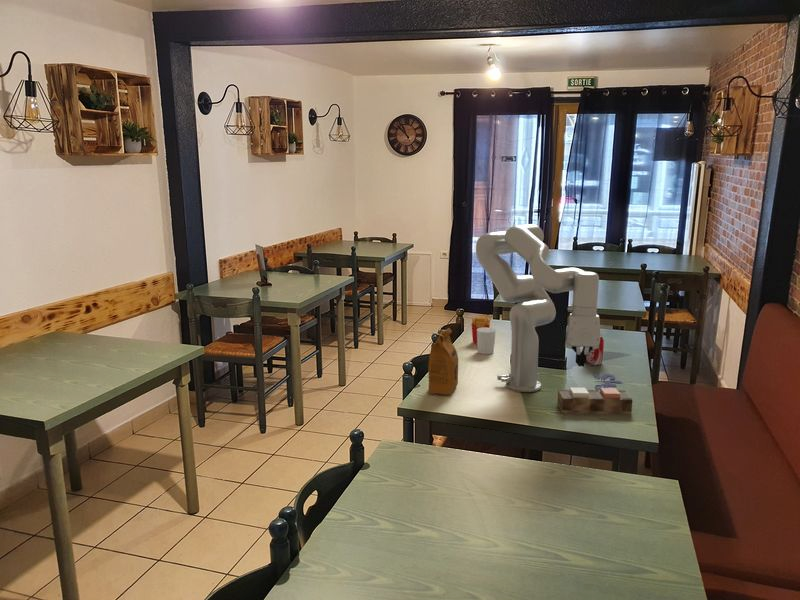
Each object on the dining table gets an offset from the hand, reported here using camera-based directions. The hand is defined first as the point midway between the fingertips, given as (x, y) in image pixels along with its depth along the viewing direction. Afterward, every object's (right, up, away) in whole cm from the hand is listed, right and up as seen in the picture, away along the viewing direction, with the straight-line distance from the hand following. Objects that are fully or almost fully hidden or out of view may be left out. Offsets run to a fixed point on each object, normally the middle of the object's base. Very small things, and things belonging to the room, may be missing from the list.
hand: (580, 365), depth 197 cm
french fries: (-22, +2, +77) cm, 81 cm away
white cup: (-22, -1, +64) cm, 67 cm away
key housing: (+5, -15, +3) cm, 16 cm away
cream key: (0, -12, +2) cm, 12 cm away
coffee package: (-43, -11, +20) cm, 49 cm away
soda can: (+19, -5, +48) cm, 52 cm away
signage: (+17, -11, +22) cm, 30 cm away
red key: (+10, -12, +2) cm, 16 cm away
